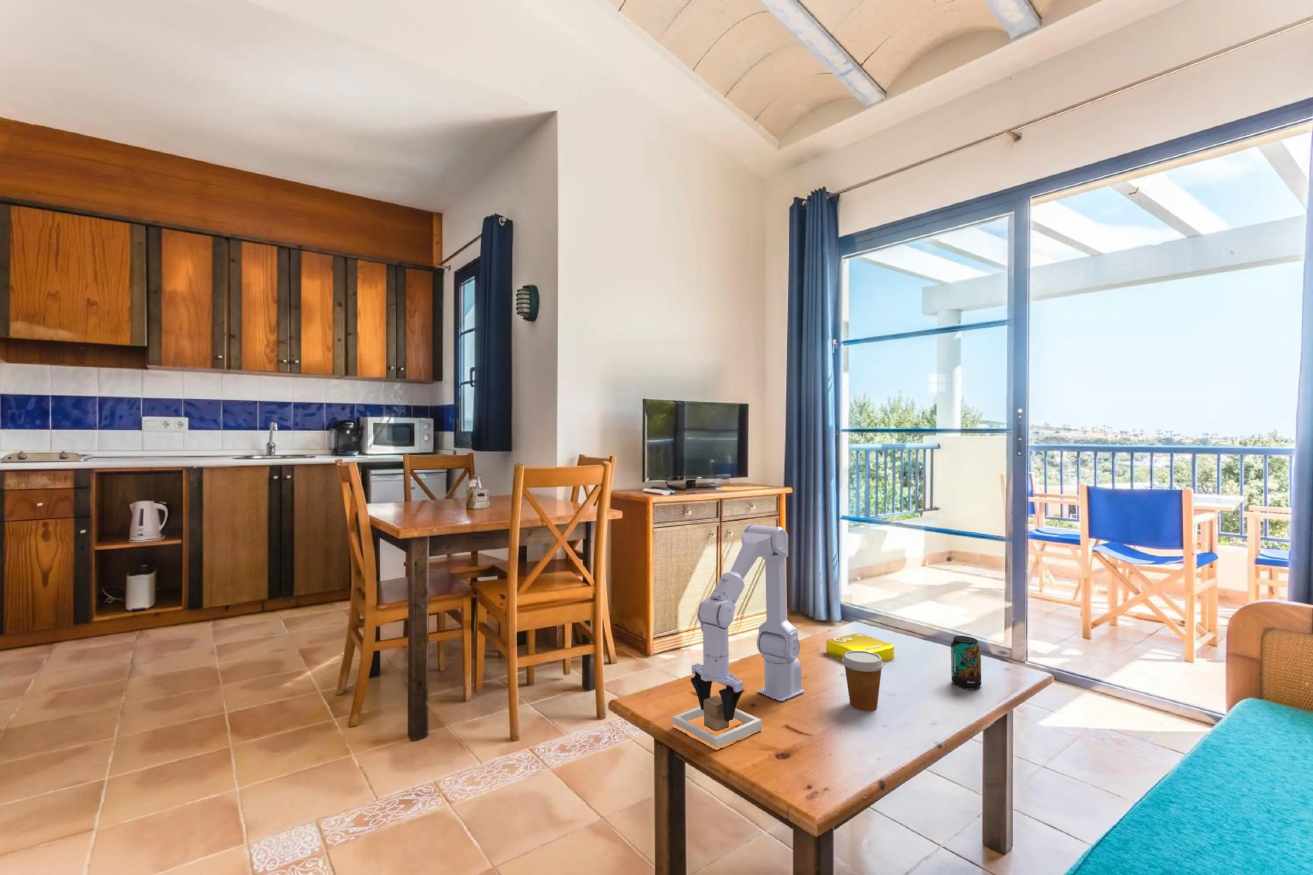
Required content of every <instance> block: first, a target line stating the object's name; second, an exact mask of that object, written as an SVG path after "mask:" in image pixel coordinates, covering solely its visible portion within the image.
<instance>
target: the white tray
mask: <svg viewBox="0 0 1313 875" xmlns="http://www.w3.org/2000/svg"><path fill="white" fill-rule="evenodd" d="M701 716H704V710H702V709H701V707H700V706H697V707H695V708H692V709H689V710H687V711H684V712H682V713H679V714H677V715H674V716H673V717H672V725H673V724H675V725H677V726H678V727H681V728H683V729H685V730H686V731H689V732H690V733H692V734H694V735H695V736H697V737H698V738H701V739H702V740H704V741H706V742H708V743H710V744H711V745H714V746H715V747H719V746H721V745H725V744H727V743H729V742H732V741H735V740H737V739H739V738H742V737H745V736H747V735H749V734H752V733H754V732H757V731H760V730H763V729H762V723H763V722H762V719H761V718H758V717H757V716H754V715H752V714H749V713H747V712H745V711H743V710H740V709H738V708H736V709H735V713H734V717H733V718H735V719H737V720H739V721H741V722H742V723H744V725H741V726H739V727H737V728H734V729H732V730H730V731H727V732H725V733H722V734H720V735H718V736H715V735H713V734H711V733H709V732H707V731H706V730H704V729H702V728H700V727H698V726H696V725H694V724H692V723H690V722H688V720H692V719H694V718H698V717H701Z"/></svg>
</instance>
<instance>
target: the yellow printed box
mask: <svg viewBox="0 0 1313 875" xmlns="http://www.w3.org/2000/svg"><path fill="white" fill-rule="evenodd" d="M825 645H826V646H825V648H826V650H825V651H826V652H825V653H826V655H828V654H829V655H828V656H830V655H831V657H833V658H835V657H836V659H838V658H839V659H838V660H840V659H841V660H840V661H842V659H843V658H844V654H845V653H846V652H849V651H856V650H858V651H868V652H872V653H875V654H878V655H879V656H881V659H882V662H883V663H886V662H885V661H887V662H889V661H893V659H894V660H895V646H894V644H892V643H889V642H887V641H883V640H881V639H877V638H874V637H872V636H868V635H865V634H862V633H859V632H857V633H852V634H848V635H844V636H843V635H842V636H838V637H834V638H830V639H827V640H826V641H825Z"/></svg>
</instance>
